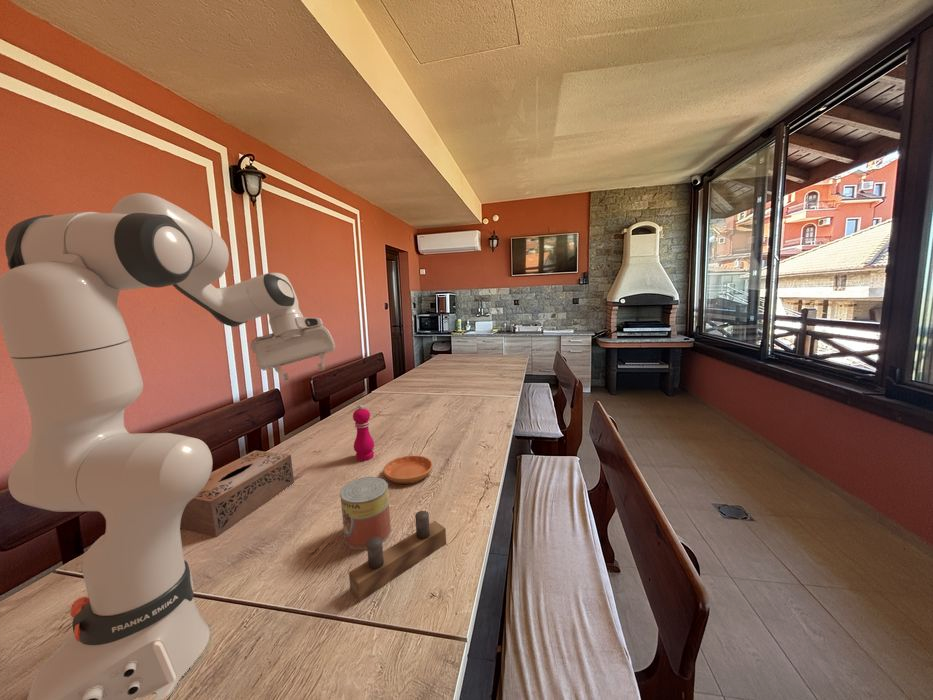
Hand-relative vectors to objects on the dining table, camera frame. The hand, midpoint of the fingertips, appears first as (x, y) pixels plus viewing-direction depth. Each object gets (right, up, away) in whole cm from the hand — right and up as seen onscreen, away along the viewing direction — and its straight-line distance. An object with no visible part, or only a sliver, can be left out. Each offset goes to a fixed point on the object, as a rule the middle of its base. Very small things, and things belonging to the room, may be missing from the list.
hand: (304, 375), depth 98 cm
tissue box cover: (-21, -38, +4) cm, 44 cm away
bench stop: (+31, -40, -21) cm, 55 cm away
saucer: (+26, -34, +18) cm, 47 cm away
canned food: (+21, -39, -11) cm, 45 cm away
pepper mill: (+8, -33, +31) cm, 46 cm away
